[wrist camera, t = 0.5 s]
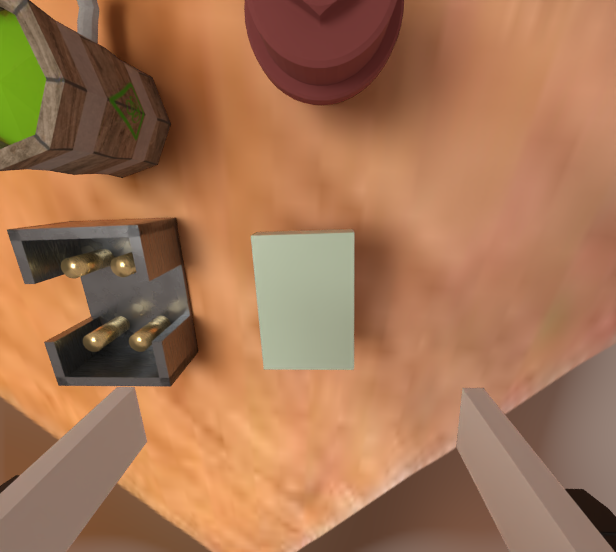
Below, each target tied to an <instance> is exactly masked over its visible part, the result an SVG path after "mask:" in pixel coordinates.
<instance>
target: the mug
mask: <svg viewBox="0 0 616 552" xmlns="http://www.w3.org/2000/svg"><path fill="white" fill-rule="evenodd" d="M77 2H78V5H79V14H78V33H77V32H75V31H73V30H72V29H70V28H68V27H66V26H64V25H63V24H61V23H59V22H57V21H55V20H54V19H52V18H51V17H50V16H49V15H47V14H46V13H45V12H44V11H42V10H41V9H40V8H38V7H37V6H36V5H35V4H33V3H32V2H31V1H29V0H0V171H6V170H20V169H32V170H49V171H55V172H61V173H67V174H73V175H78V174H109V175H113V176H117V177H121V178H123V177H126V176H128V175H131V174H134V173H136V172H139V171H142V170H144V169H147V168H150V167H152V166H155V165H158V162H159V158H160V155H161V152H162V149H163V146H164V143H165V140H166V137H167V134H168V131H169V128H170V125H171V123H170V120H169V118H168V115H167V113H166V110H165V108H164V105H163V103H162V100H161V98H160V95H159V93H158V90H157V88H156V85H155V83H154V80H153V78H152V77H151V76H149V75H147V74H145V73H143V72H142V71H140V70H138V69H136V68H134V67H132V66H131V65H129V64H127V63H125V62H123V61H122V60H120V59H118V58H117V57H116V56H115V55H113V54H112V53H111V52H110V51H108V50H107V49H106V48H104V47H103V46H101V45H99V44H98V17H99V7H98V3H97V0H77Z"/></svg>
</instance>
